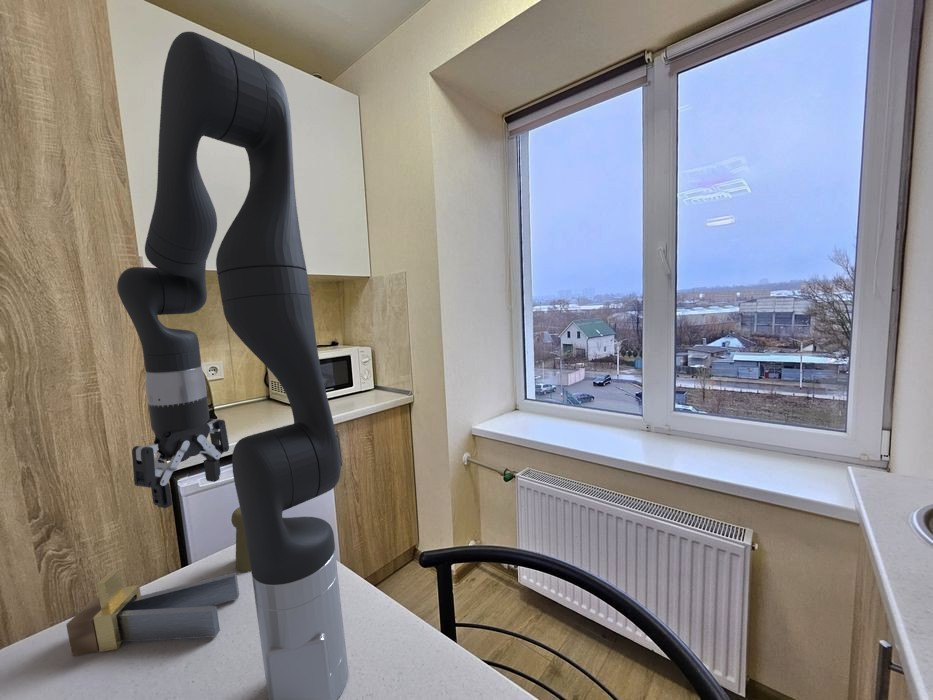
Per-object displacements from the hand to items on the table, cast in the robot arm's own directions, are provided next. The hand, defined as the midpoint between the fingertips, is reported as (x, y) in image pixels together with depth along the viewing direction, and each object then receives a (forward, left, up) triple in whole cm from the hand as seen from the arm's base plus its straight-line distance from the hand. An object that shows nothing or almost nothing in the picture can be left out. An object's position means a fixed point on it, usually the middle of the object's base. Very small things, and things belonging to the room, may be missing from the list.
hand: (190, 492), depth 63 cm
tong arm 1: (-8, +2, -18) cm, 20 cm away
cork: (+7, -5, -19) cm, 21 cm away
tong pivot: (-5, +12, -18) cm, 23 cm away
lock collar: (-5, +9, -18) cm, 21 cm away
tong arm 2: (-4, +2, -18) cm, 18 cm away
